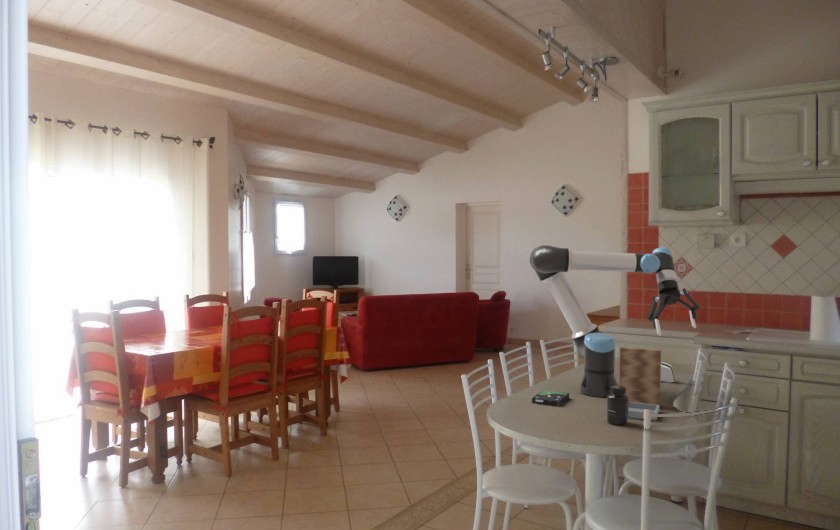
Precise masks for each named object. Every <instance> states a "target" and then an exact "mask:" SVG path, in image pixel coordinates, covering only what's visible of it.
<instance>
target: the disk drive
mask: <svg viewBox="0 0 840 530" xmlns="http://www.w3.org/2000/svg"><path fill="white" fill-rule="evenodd" d="M569 399H570V393H569V392H563V391H552V390H546V389H545V390H542V391H541V392H538V393H537V394H535V395H534V396H533V397H532V399H531V403H532V404H534V403H536V405H542V404H543V406H549V405H550V407H551V406H552V407H558V408H559V407H560V406H562V405H563V404H564V403H565V402H567V401H568V400H569ZM566 400H567V401H566ZM562 403H563V404H562Z"/></svg>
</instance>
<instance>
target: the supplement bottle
mask: <svg viewBox="0 0 840 530" xmlns="http://www.w3.org/2000/svg"><path fill="white" fill-rule="evenodd" d="M610 392H611V394H609V395H608V397H606V422H607V423H608V424H609V425H612V426H623V427H624V426H627V425H628V424H629V418H628V410H629V398H628V397H627V396H626V395H625V394H626V388H625V387H623V386H620V385H617V386H611V390H610Z"/></svg>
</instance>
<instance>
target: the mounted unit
mask: <svg viewBox="0 0 840 530" xmlns="http://www.w3.org/2000/svg"><path fill="white" fill-rule="evenodd" d="M661 362H662V350H661V349H651V348H636V347H624V346H623V347H619V386H623V387H625V388H626V394H625V395H626V396H627V397H628V398H629V402H637V403H646V404H655V405H659V410H660V409H661V383H662V382H661Z"/></svg>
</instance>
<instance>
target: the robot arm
mask: <svg viewBox="0 0 840 530" xmlns="http://www.w3.org/2000/svg"><path fill="white" fill-rule="evenodd" d="M529 264H530V267H531V268H532V269H533V270H534V272H535V273H536V275H537V277H538V279H539V280H540V282H542V283H544V284H546V286H547V288H548V289H549V291H550V293H551V295H552V297H553V298H554V301H555V302H556V303H557V306H558V308H559V309H560V311H561V313H562V315H563V316H564V319H565V320H566V322H567V324H568V326H569V328H570V330H571V331H572V335H571V339H572V340H573V343H574V344H575V346H576V349H577V352H578V353H579V355H580V356H581V357H582V358H583V360H584V361H583V364H584V366H583V375H582V378H581V381H580V383H579V389H578V390H579V394H582V395H585V396H591V397H596V398H597V397H599V398H600V397H601V398H607V397H608V395H609V394H611V392H610V390H611V386H618V382H617V380H616V377H615V356H616V355H615V354H616V353H615V350H616V349H615V347H616V341H615V338H614V337H613V335H611V334H607V333H603V332H601V330H600V329H599V327H598V325H597V324H595V323H592V321H591V320H590V318H589V316H588V314H587V312H586V311H585V308H584V307H583V306H582V304H581V302H580V300H579V298H578V296H577V295H576V293H575V291H574V290H573V287H572V286H571V284H570V282H569V280H568V278H567V276H566V274H565V273H568V272H570V271H597V272H622V273H623V272H624V273H625V272H626V273H629V272H630V273H643V274H644V273H645V274H653V273H655V277H656V283H657V289H658V293H659V296H652V297H651V305H650V308H649V311H648V314H647V317H646V319H647V320H648V321H650V322H652V324H653V325H652V327H654V329H656V334H657V336H659V337H661V336H662V331H661V325H660V320H658V319H659V318H660V315H661V314H662V313H663V311H664V310H665V308H666V307H667V306H671V305H675V304H677V303H679V304H681V305H682V306H684V307H685V308H687V309H688V313H689V319H690V322H691V326H692V328H693V329H697V324H696V319H698V316H697V310H700V309H701V307H700V306H699V304H698V303H697V302H696V300H694V299H693V298H692V296H691V295H690V293H689V291H688V290H687V289H686V288H685V287H684V288H682V290H680V289H679V284H678V280H677V275H676V270H675V266H674V265H675V264H674V257H673V254H672V251H671V250H670V249H669V248H668V247H664V246H663V247H657V248H655V249H654V250H652V253H633V252H632V253H630V252H629V253H628V252H606V251H605V252H604V251H583V250H582V251H580V250H579V251H578V250H571V249H570V248H567V247H566V248H564V247H558V246H553V245H547V244H546V245H544V244H543V245H539V246H537V247H535V248H534V249H533V250H532V251H531V253H530V255H529ZM682 295H683V296H685V297H686V298H687V299H688V300H689V302H690V303H691V304H692V305H693V306H692V305H690V304H689V303H687V302H686V301H684V300H683V299H681V298H680V297H681V296H682ZM659 301H660V302H659ZM658 303H659V305H658ZM657 306H658V307H657Z"/></svg>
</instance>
